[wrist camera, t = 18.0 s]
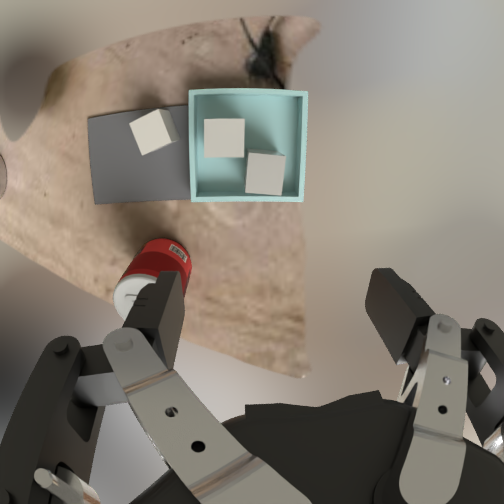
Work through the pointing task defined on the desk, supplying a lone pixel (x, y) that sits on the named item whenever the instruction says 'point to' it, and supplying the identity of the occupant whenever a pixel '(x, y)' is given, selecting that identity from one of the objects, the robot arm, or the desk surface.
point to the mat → (137, 160)
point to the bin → (248, 141)
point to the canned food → (150, 271)
